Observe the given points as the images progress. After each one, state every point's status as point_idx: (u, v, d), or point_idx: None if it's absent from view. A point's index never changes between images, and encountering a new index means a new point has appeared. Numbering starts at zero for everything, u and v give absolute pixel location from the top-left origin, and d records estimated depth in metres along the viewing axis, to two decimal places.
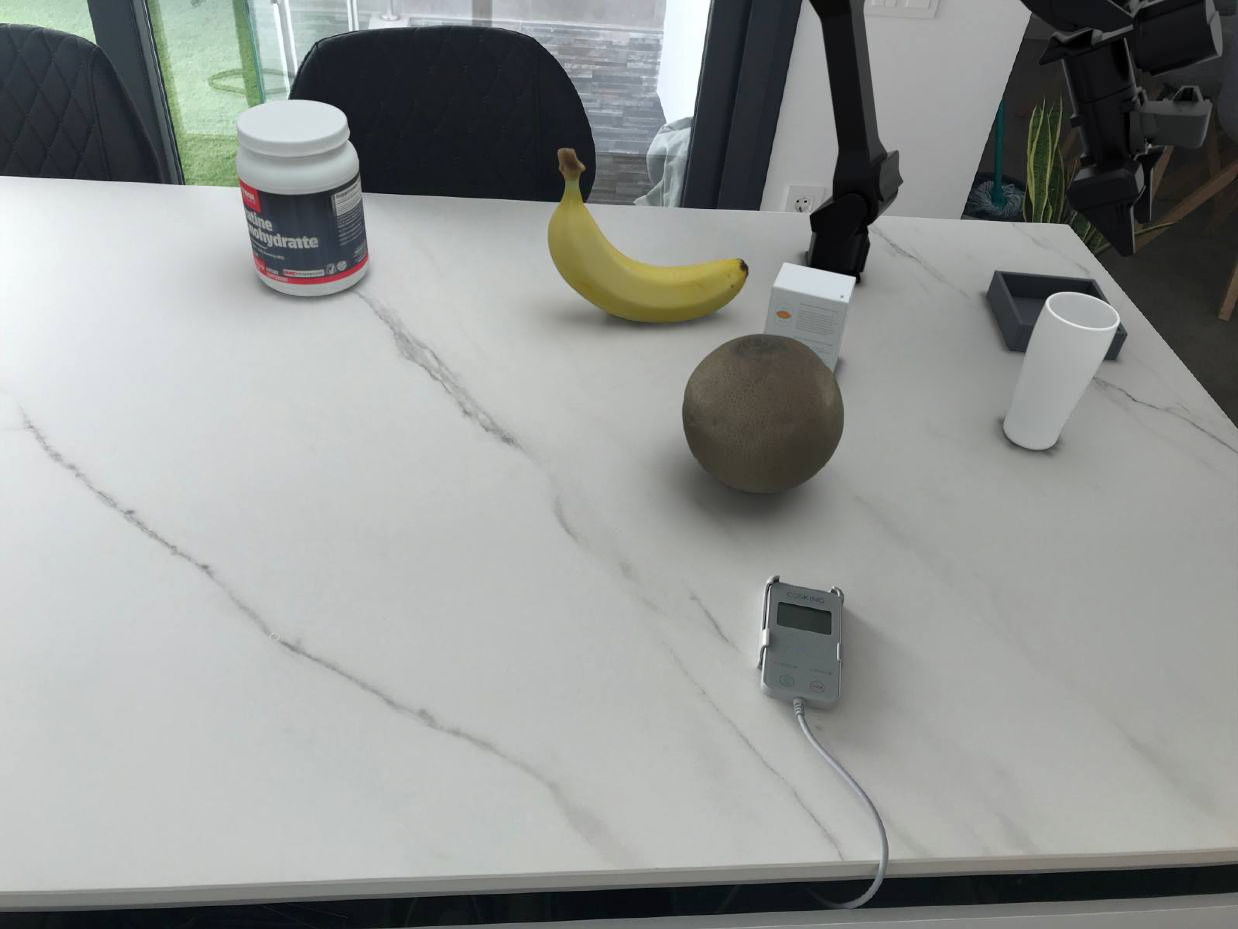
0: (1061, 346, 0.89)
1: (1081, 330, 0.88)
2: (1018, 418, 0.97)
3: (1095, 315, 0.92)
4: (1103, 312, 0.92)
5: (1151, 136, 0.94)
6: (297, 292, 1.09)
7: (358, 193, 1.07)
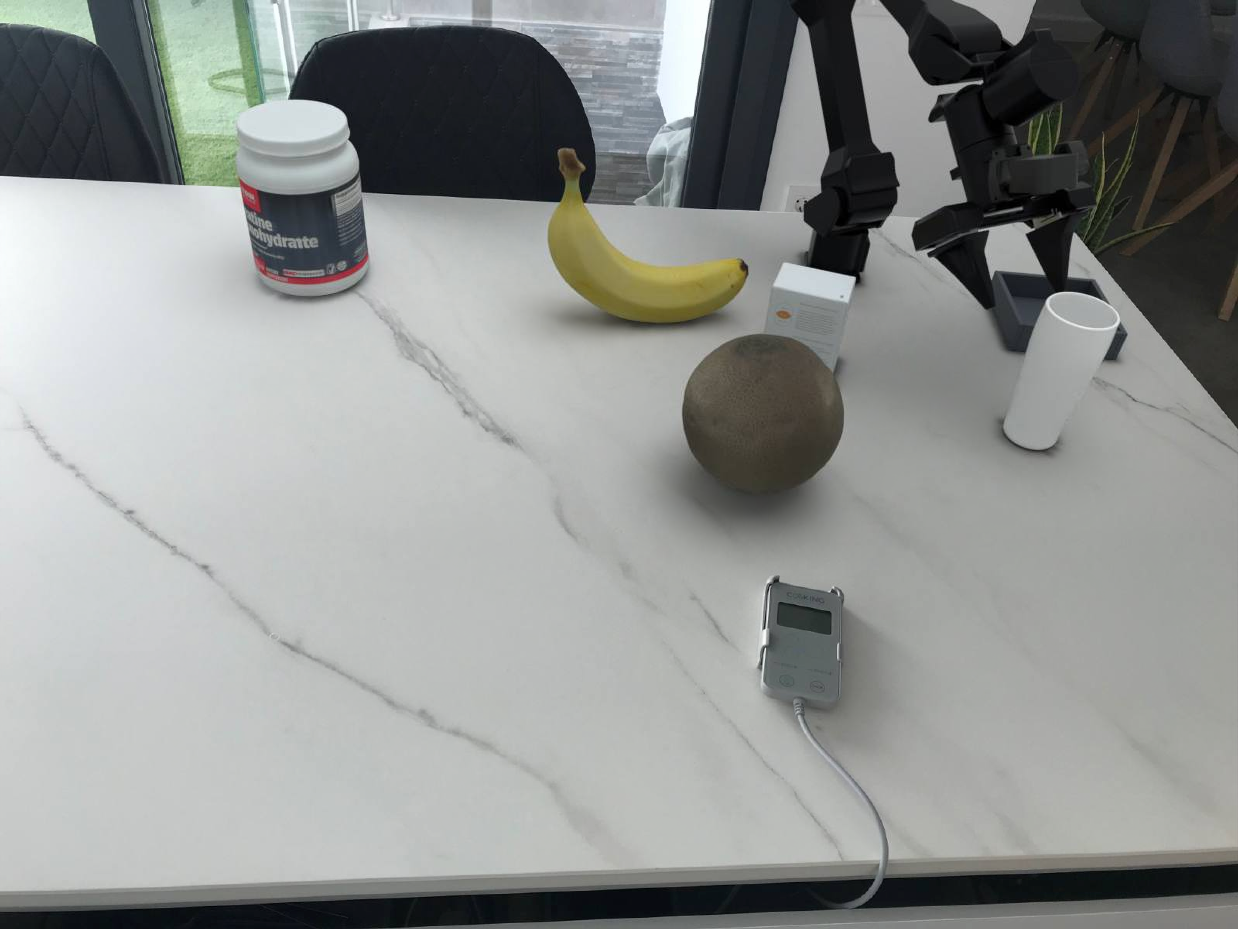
0: (1061, 346, 0.89)
1: (1081, 330, 0.88)
2: (1018, 418, 0.97)
3: (1095, 315, 0.93)
4: (1103, 312, 0.92)
5: (1005, 183, 0.91)
6: (297, 292, 1.09)
7: (358, 193, 1.07)
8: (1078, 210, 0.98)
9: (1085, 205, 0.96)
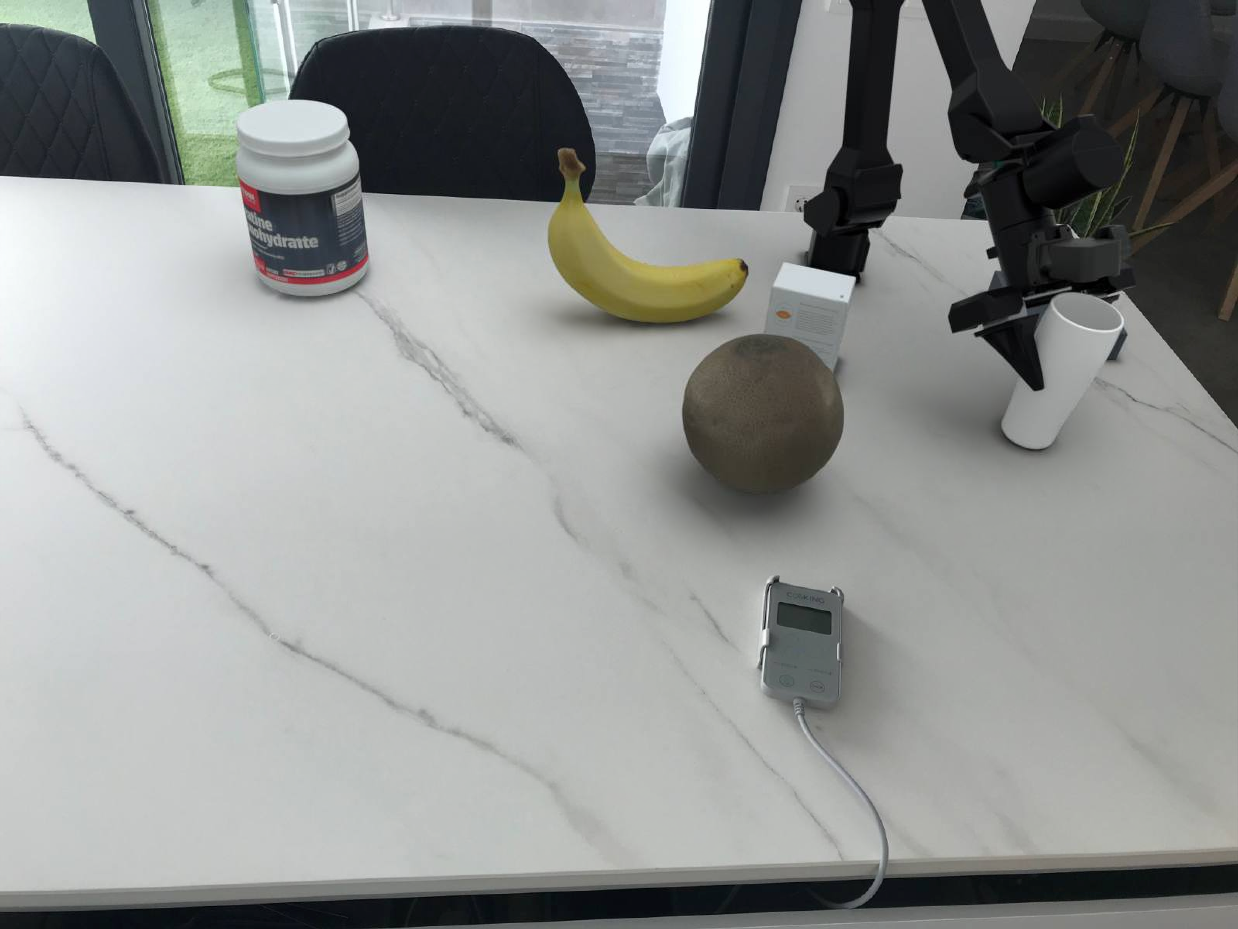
0: (1064, 347, 0.89)
1: (1085, 331, 0.88)
2: (1017, 417, 0.97)
3: (1099, 316, 0.92)
4: (1107, 314, 0.91)
5: (1045, 268, 0.89)
6: (297, 292, 1.09)
7: (358, 193, 1.07)
8: (1117, 289, 0.96)
9: (1125, 286, 0.94)
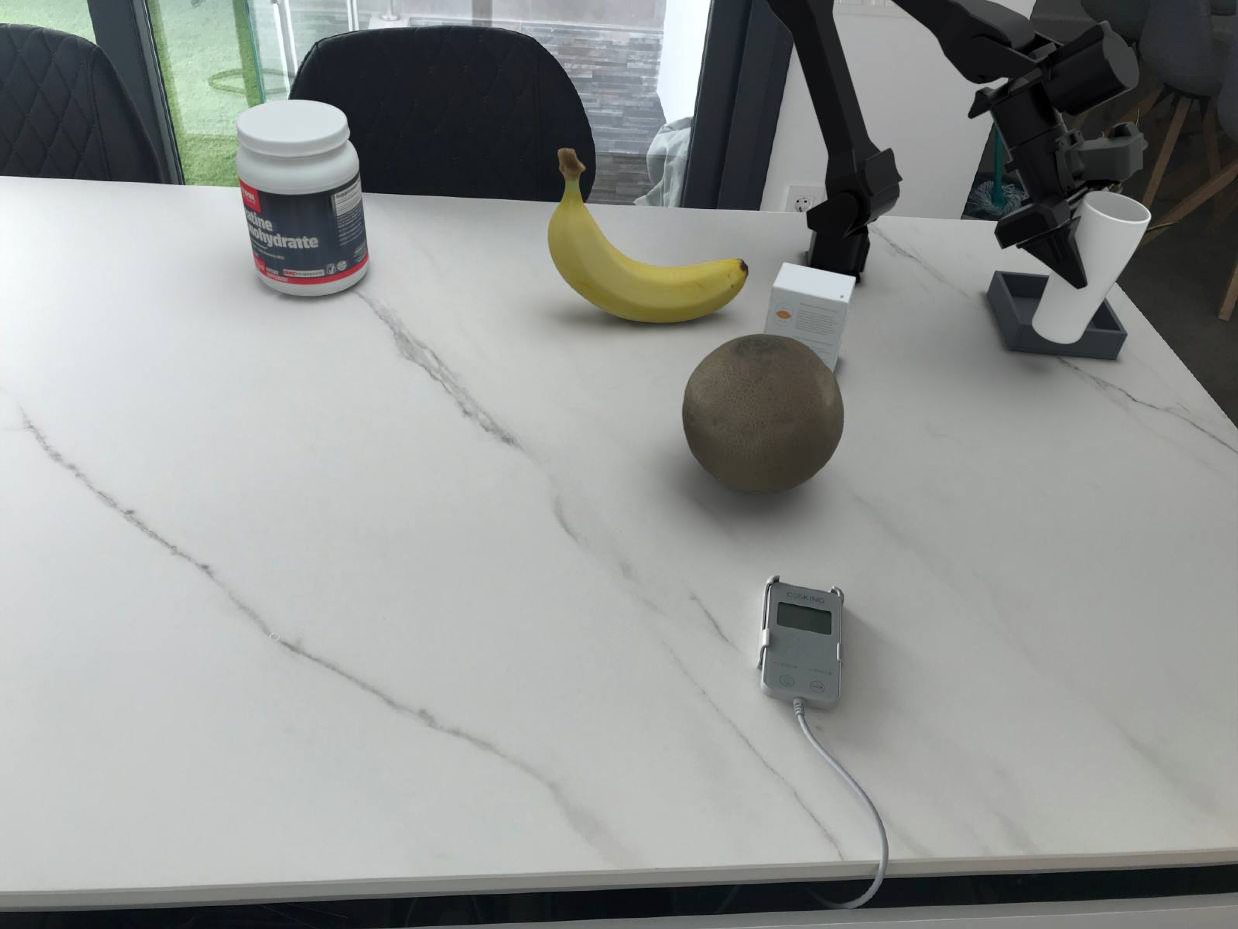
0: (1108, 242, 0.95)
1: (1128, 225, 0.94)
2: (1056, 316, 1.03)
3: (1116, 210, 0.99)
4: (1125, 206, 0.99)
5: (1078, 172, 0.95)
6: (297, 292, 1.09)
7: (358, 193, 1.07)
8: (1109, 183, 1.04)
9: (1124, 179, 1.02)
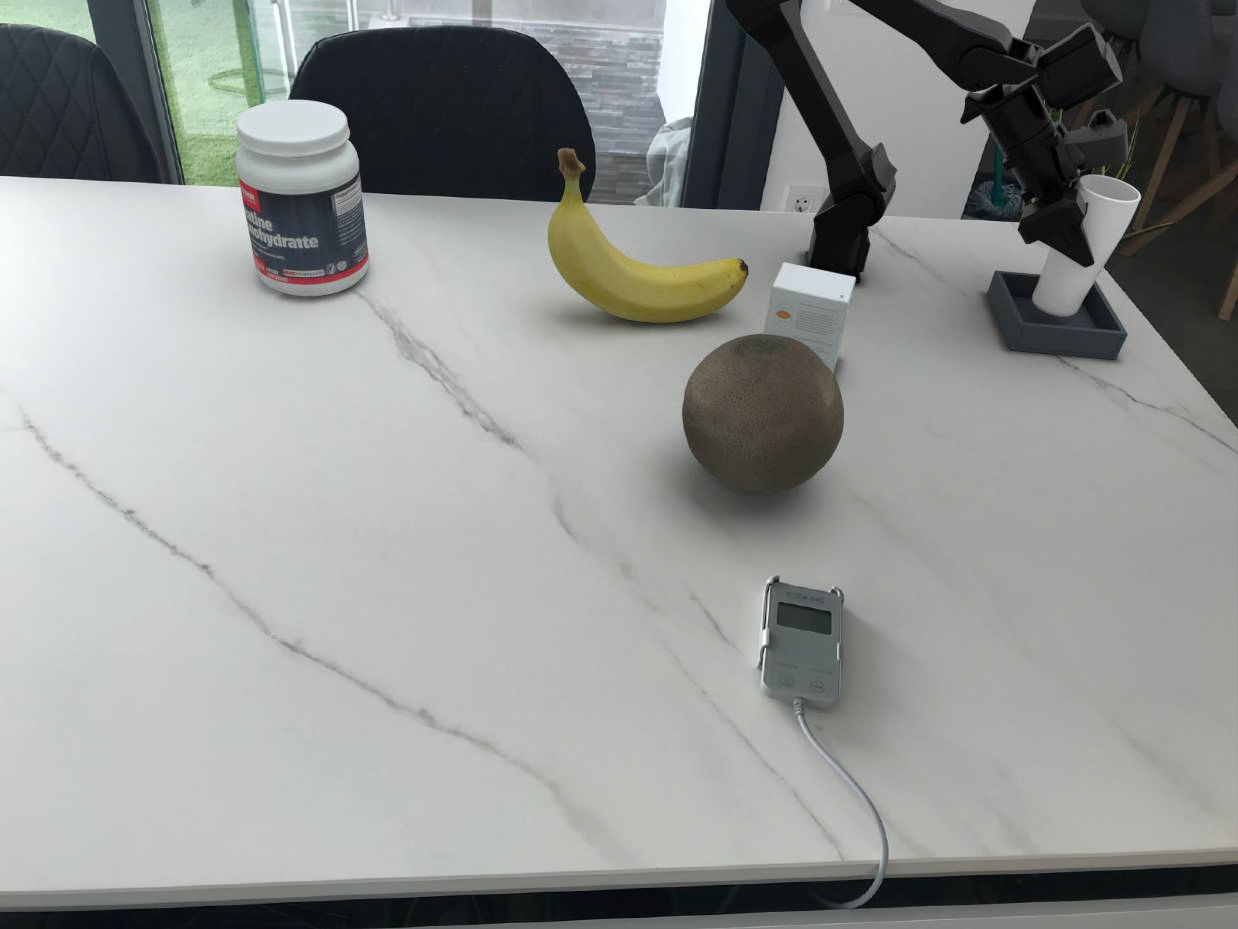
0: (1113, 222, 1.04)
1: (1130, 204, 1.03)
2: (1062, 294, 1.11)
3: (1099, 189, 1.08)
4: (1107, 185, 1.08)
5: (1080, 163, 1.02)
6: (297, 292, 1.09)
7: (358, 193, 1.07)
8: None
9: None
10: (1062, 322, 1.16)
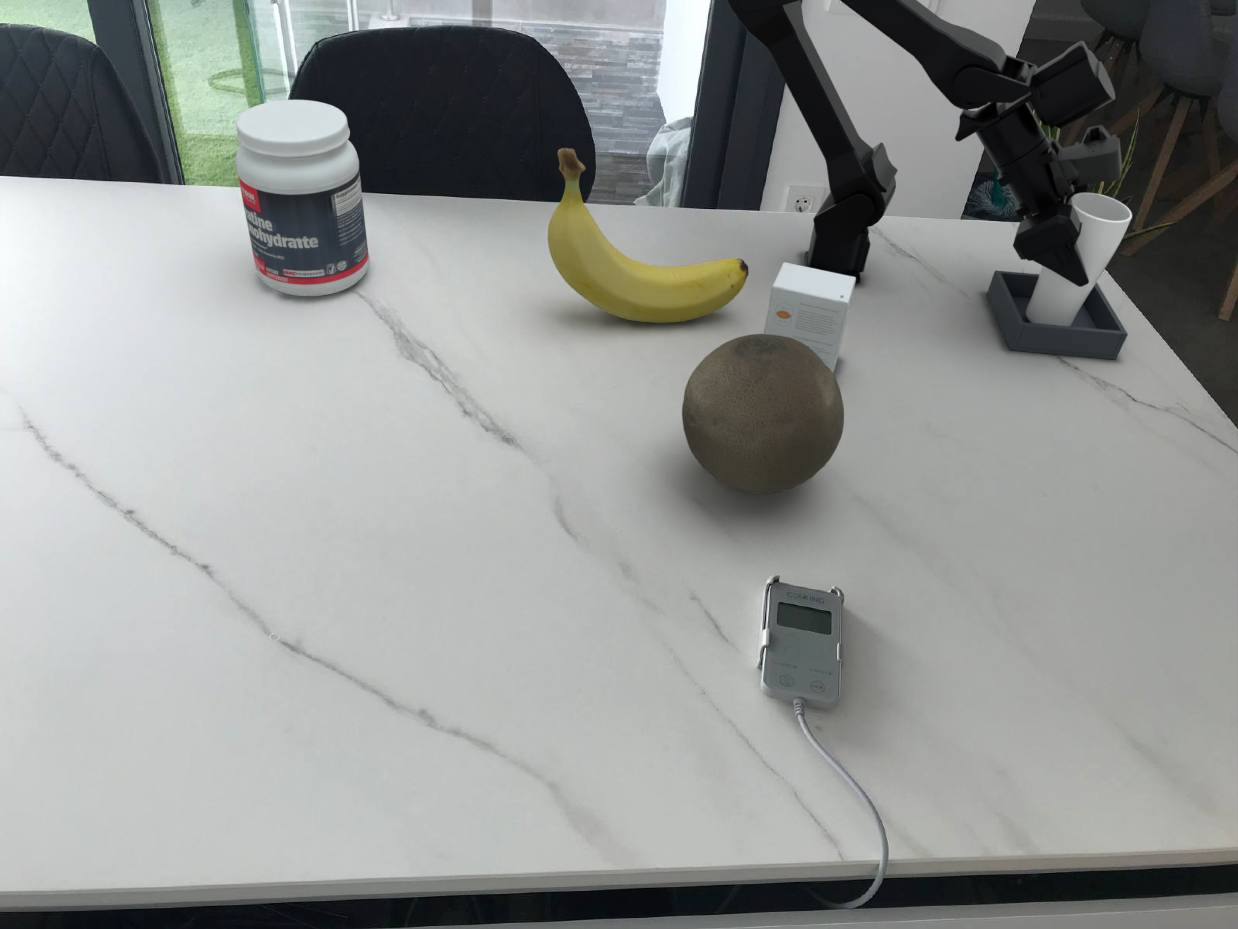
0: (1104, 241, 1.05)
1: (1120, 224, 1.04)
2: (1055, 310, 1.12)
3: (1091, 207, 1.09)
4: (1100, 202, 1.09)
5: (1074, 179, 1.03)
6: (297, 292, 1.09)
7: (358, 193, 1.07)
8: None
9: None
10: None
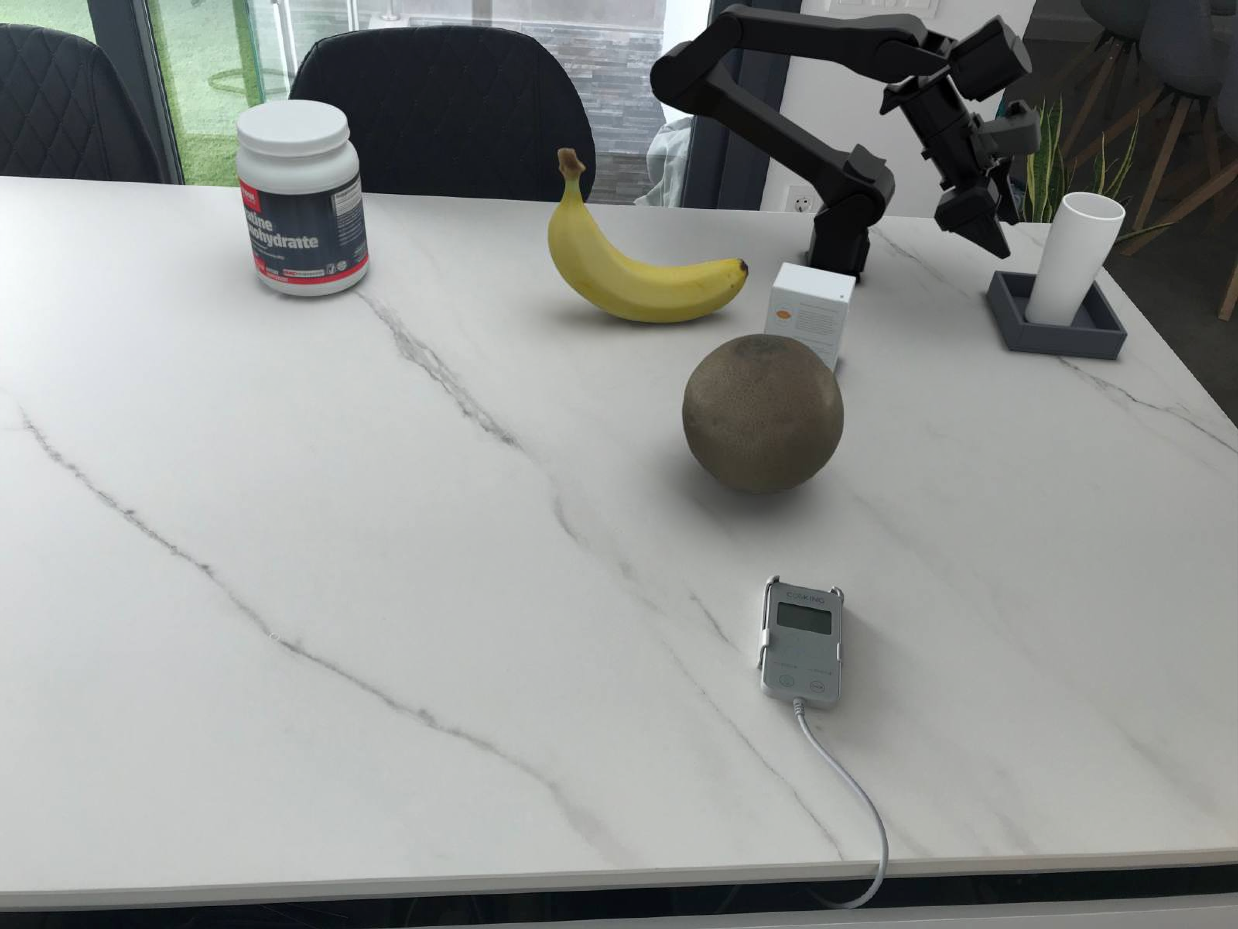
0: (1098, 239, 1.05)
1: (1113, 221, 1.04)
2: (1053, 310, 1.12)
3: (1085, 206, 1.10)
4: (1093, 202, 1.09)
5: (994, 152, 1.05)
6: (297, 292, 1.09)
7: (358, 193, 1.07)
8: None
9: None
10: None
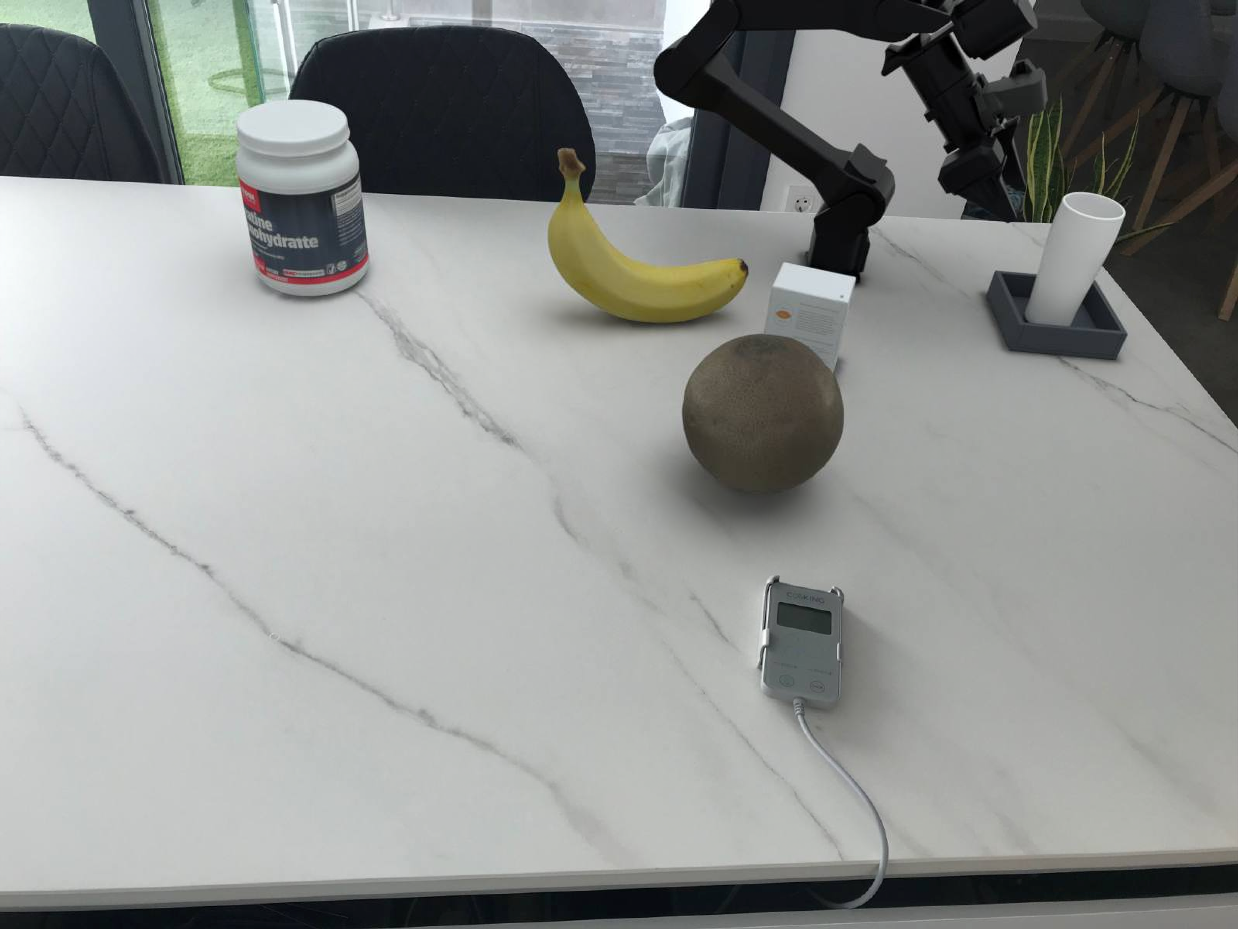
0: (1098, 239, 1.05)
1: (1113, 221, 1.04)
2: (1053, 310, 1.12)
3: (1085, 206, 1.10)
4: (1093, 201, 1.09)
5: (999, 112, 1.02)
6: (297, 292, 1.09)
7: (358, 193, 1.07)
8: None
9: None
10: None
